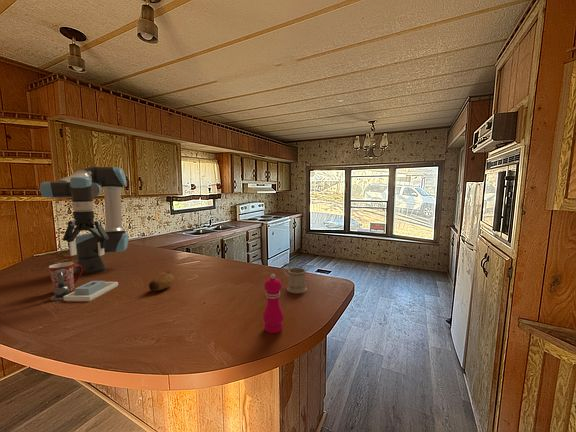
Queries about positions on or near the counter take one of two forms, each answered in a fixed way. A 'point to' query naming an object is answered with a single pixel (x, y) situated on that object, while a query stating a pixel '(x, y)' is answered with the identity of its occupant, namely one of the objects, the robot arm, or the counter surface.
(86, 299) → the tray
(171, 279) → the potato
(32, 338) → the counter surface
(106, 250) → the robot arm
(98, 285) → the windowed blue block
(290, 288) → the mug
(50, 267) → the mug
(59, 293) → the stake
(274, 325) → the pepper mill
